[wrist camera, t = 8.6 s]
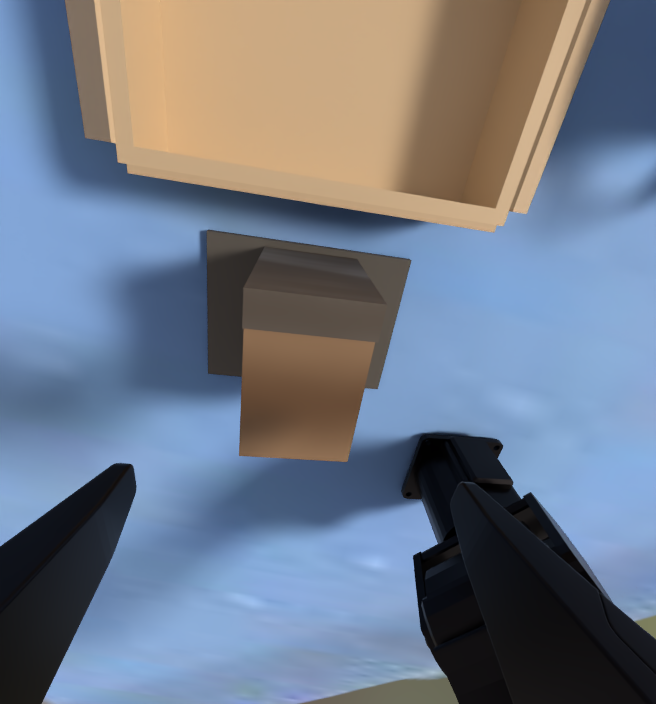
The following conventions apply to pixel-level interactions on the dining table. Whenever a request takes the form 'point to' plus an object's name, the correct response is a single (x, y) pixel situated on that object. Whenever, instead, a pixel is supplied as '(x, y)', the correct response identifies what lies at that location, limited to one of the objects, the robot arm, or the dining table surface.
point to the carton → (338, 97)
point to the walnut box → (305, 354)
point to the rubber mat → (234, 270)
